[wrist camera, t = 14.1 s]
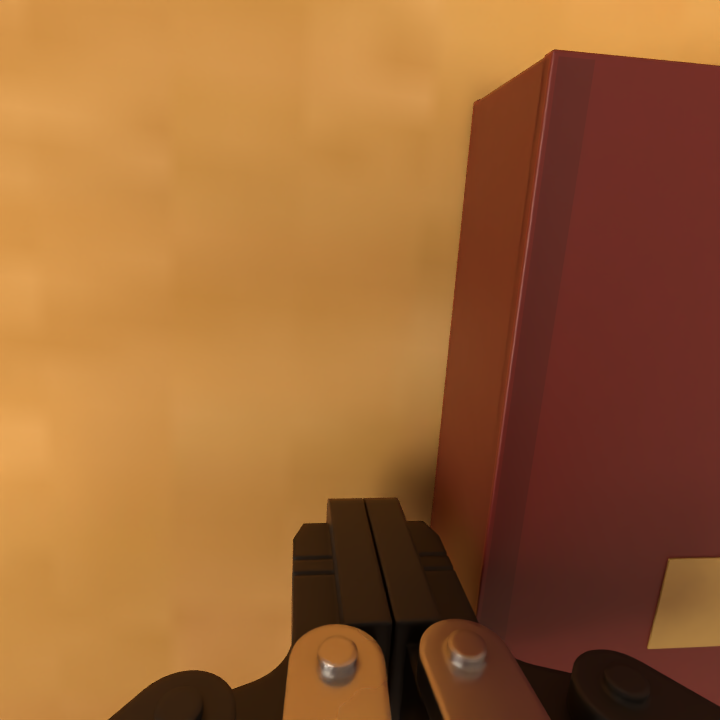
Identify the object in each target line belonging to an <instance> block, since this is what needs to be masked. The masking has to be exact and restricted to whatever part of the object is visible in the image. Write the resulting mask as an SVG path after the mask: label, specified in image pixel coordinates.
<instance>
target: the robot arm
mask: <svg viewBox="0 0 720 720" xmlns="http://www.w3.org/2000/svg"><path fill="white" fill-rule="evenodd" d="M108 720H720V706H718V705H716V704H715V703H713V702H711V701H709V700H708V699H706V698H704V697H702V696H701V695H699V694H697V693H695V692H694V691H692V690H690V689H688V688H687V687H685V686H683V685H681V684H680V683H678V682H676V681H674V680H673V679H671V678H669V677H667V676H666V675H664V674H662V673H660V672H659V671H657V670H655V669H653V668H652V667H650V666H648V665H646V664H645V663H643V662H641V661H639V660H637V659H635V658H633V657H631V656H629V655H626V654H624V653H620V652H617V651H612V650H606V649H596V650H590V651H586V652H584V653H582V654H581V655H580V656H578V657H577V658H576V660H575V662H574V664H573V669H572V673H569V672H564V671H560V670H555V669H551V668H546V667H542V666H537V665H533V664H530V663H526V662H523V661H521V660H518V659H516V658H514V656H513V654H512V653H511V651H510V649H509V648H508V646H507V645H506V643H505V642H504V641H503V640H502V639H501V638H500V637H499V636H498V635H497V634H496V633H494V632H493V631H492V630H490V629H489V628H487V627H485V626H483V625H481V624H479V622H478V620H477V618H476V616H475V614H474V611H473V609H472V607H471V605H470V603H469V600H468V598H467V596H466V594H465V592H464V589H463V587H462V585H461V583H460V581H459V578H458V576H457V574H456V572H455V570H453V565H452V563H451V561H450V559H449V556H447V552H446V550H445V548H444V545H443V543H442V541H441V539H440V537H439V535H438V534H437V533H436V532H435V531H434V530H432V529H431V528H430V527H429V526H428V525H427V524H426V523H424V522H423V521H406V518H405V516H404V513H403V510H402V508H401V505H400V502H399V500H398V498H364V499H362V498H351V499H328V503H327V522H326V523H308V524H303V525H302V527H301V528H300V530H299V531H298V533H297V534H296V536H295V537H294V539H293V573H292V644H291V648H290V650H289V652H288V654H287V656H286V657H285V659H284V660H283V661H282V663H281V664H280V665H279V666H278V667H277V668H276V669H274V670H273V671H272V672H270V673H269V674H267V675H266V676H264V677H262V678H261V679H258V680H256V681H254V682H251V683H248V684H246V685H243V686H240V687H237V688H234V689H231V688H230V686H229V685H228V684H227V683H226V682H225V681H224V680H223V679H222V678H220V677H218V676H216V675H215V674H212V673H209V672H205V671H198V670H194V671H182V672H177V673H174V674H170V675H168V676H166V677H163V678H161V679H159V680H157V681H156V682H154V683H152V684H151V685H149V686H148V687H147V688H145V689H144V690H143V691H142V692H141V693H139V694H138V695H137V696H136V697H135V698H133V699H132V700H131V701H130V702H129V703H127V704H126V705H125V706H124V707H123V708H122V709H120V710H119V711H118V712H117V713H116V714H114V715H113V716H112V717H111V718H110V719H108Z"/></svg>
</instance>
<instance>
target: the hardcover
mask: <svg viewBox="0 0 720 720" xmlns="http://www.w3.org/2000/svg"><path fill="white" fill-rule="evenodd" d="M430 528H431V529H432V530H434V531H435V532H436V533H437V534H438V535H439V537H440V539H441V541H442V543H443V545H444V548H445V550H446V552H447V556H449V559H450V561H451V563H452V565H453V570H455V572H456V574H457V576H458V578H459V581H460V583H461V585H462V587H463V589H464V592H465V594H466V596H467V598H468V600H469V603H470V605H471V607H472V609H473V611H474V614H475V616H476V618H477V620H478V622H479V624H481V625H483V626H485V627H487V628H489V629H490V630H492V631H493V632H494V633H496V634H497V635H498V636H499V637H500V638H501V639H502V640H503V641H504V642H505V643H506V645H507V646H508V648H509V649H510V651H511V653H512V654H513V656H514V658H516V659H518V660H521V661H523V662H526V663H530V664H533V665H537V666H542V667H546V668H551V669H555V670H560V671H564V672H569V673H572V669H573V664H574V662H575V660H576V658H577V657H578V656H580V655H581V654H582V653H584V652H586V651H590V650H596V649H606V650H612V651H617V652H620V653H624V654H626V655H629V656H631V657H633V658H635V659H637V660H639V661H641V662H643V663H645V664H646V665H648V666H650V667H652V668H653V669H655V670H657V671H659V672H660V673H662V674H664V675H666V676H667V677H669V678H671V679H673V680H674V681H676V682H678V683H680V684H681V685H683V686H685V687H687V688H688V689H690V690H692V691H694V692H695V693H697V694H699V695H701V696H702V697H704V698H706V699H708V700H709V701H711V702H713V703H715V704H716V705H718V706H720V66H716V65H706V64H696V63H686V62H676V61H666V60H656V59H646V58H636V57H626V56H615V55H605V54H595V53H585V52H575V51H565V50H552V51H551V52H549V53H548V54H546V55H545V57H544V58H543V59H542V60H540V61H539V62H537V63H536V64H534V65H532V66H531V67H529V68H528V69H526V70H525V71H523V72H522V73H520V74H519V75H517V76H516V77H514V78H513V79H511V80H510V81H508V82H507V83H505V84H503V85H502V86H500V87H499V88H497V89H496V90H494V91H493V92H491V93H490V94H488V95H487V96H485V97H484V98H482V99H479V100H477V101H476V102H474V106H473V116H472V126H471V135H470V145H469V155H468V165H467V175H466V184H465V194H464V204H463V214H462V223H461V233H460V243H459V253H458V262H457V272H456V282H455V292H454V301H453V311H452V321H451V331H450V340H449V350H448V360H447V370H446V379H445V389H444V399H443V409H442V418H441V428H440V438H439V448H438V458H437V467H436V477H435V487H434V497H433V506H432V516H431V526H430Z"/></svg>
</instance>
